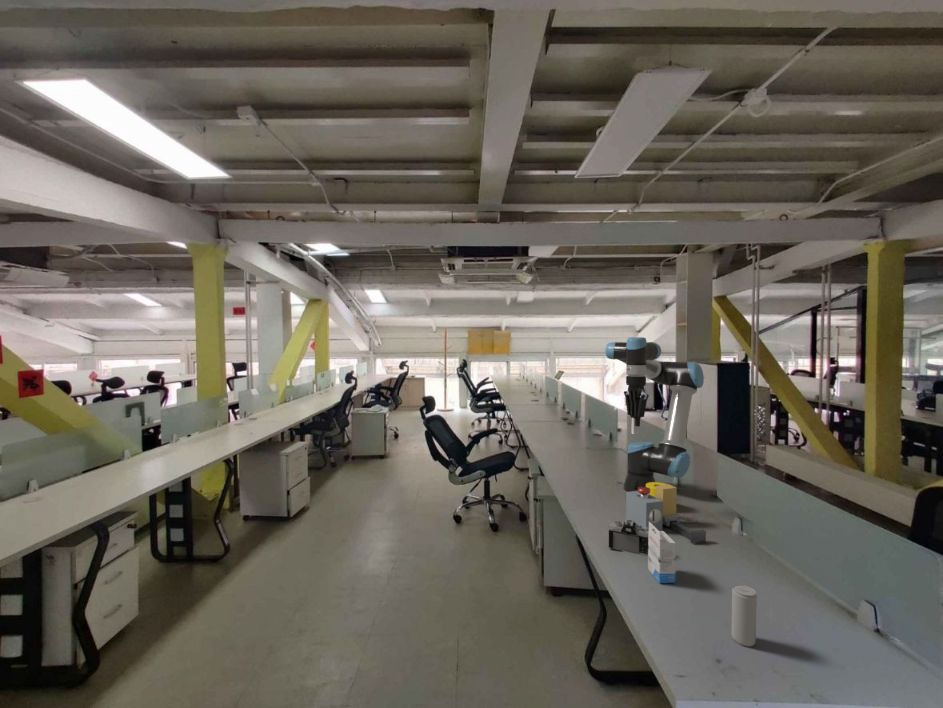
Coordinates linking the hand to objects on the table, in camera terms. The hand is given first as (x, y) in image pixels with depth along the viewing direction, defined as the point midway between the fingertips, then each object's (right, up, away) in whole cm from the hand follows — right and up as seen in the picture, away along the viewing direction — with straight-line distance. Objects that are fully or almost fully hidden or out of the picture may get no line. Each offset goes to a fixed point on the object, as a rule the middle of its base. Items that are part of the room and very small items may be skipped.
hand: (635, 433), depth 175 cm
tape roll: (+12, -33, +6) cm, 35 cm away
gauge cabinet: (-1, -33, -11) cm, 34 cm away
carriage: (+8, -33, -10) cm, 35 cm away
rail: (+9, -33, -15) cm, 37 cm away
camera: (-12, -33, -29) cm, 46 cm away
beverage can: (-3, -35, -75) cm, 82 cm away
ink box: (-10, -34, -46) cm, 58 cm away
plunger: (-1, -26, -11) cm, 29 cm away
